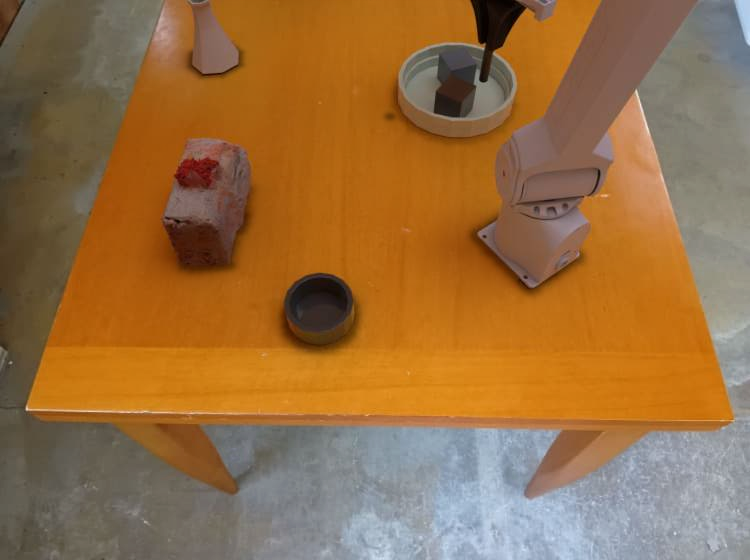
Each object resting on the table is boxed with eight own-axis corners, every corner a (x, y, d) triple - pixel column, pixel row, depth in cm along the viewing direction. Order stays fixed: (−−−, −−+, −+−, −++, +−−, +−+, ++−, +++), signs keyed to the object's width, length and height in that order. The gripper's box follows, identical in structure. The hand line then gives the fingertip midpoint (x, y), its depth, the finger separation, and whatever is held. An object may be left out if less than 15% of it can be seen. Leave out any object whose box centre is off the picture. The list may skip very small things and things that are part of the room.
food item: (197, 179, 73) (174, 120, 65) (259, 180, 73) (243, 121, 65) (174, 267, 66) (145, 214, 58) (243, 269, 66) (223, 216, 58)
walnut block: (472, 109, 79) (476, 85, 76) (458, 125, 78) (461, 102, 74) (447, 98, 81) (450, 74, 77) (433, 114, 79) (435, 91, 76)
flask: (186, 52, 87) (165, -11, 79) (231, 39, 89) (216, -24, 80) (199, 80, 84) (179, 18, 75) (246, 67, 85) (231, 4, 77)
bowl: (535, 108, 80) (541, 88, 77) (446, 157, 75) (449, 138, 72) (461, 49, 87) (464, 28, 84) (375, 91, 82) (375, 70, 79)
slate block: (473, 87, 82) (477, 63, 78) (448, 94, 81) (451, 70, 78) (461, 70, 84) (465, 46, 80) (436, 76, 83) (439, 53, 80)
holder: (367, 323, 62) (366, 308, 59) (311, 359, 60) (307, 345, 57) (330, 278, 65) (328, 261, 62) (276, 310, 63) (271, 294, 60)
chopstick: (489, 80, 76) (502, 18, 68) (482, 84, 75) (494, 22, 68) (483, 75, 76) (495, 13, 69) (476, 79, 76) (488, 17, 68)
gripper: (438, -87, 62) (429, 26, 73) (533, -26, 55) (506, 88, 67) (487, -106, 64) (470, 7, 75) (583, -50, 58) (549, 65, 69)
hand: (490, 44), depth 71 cm, fingers closed on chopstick, 1 cm apart
